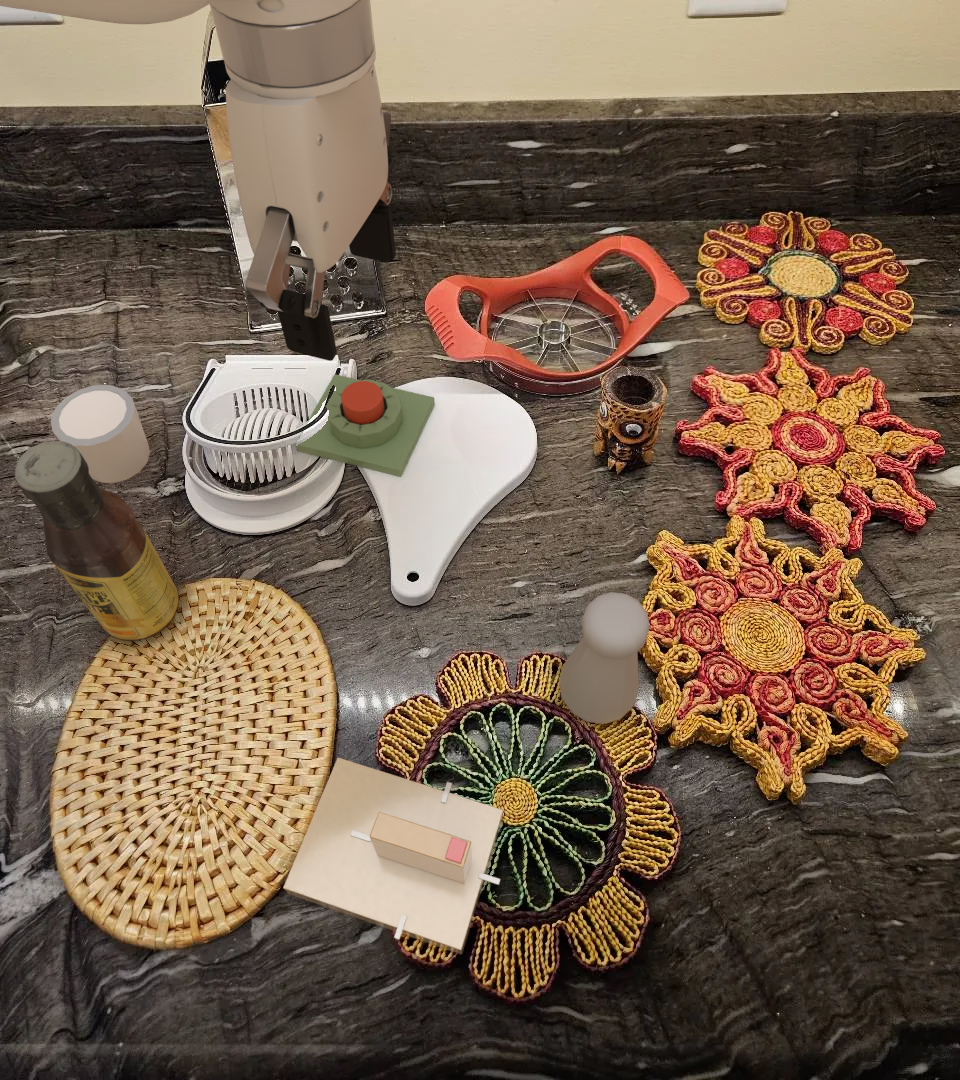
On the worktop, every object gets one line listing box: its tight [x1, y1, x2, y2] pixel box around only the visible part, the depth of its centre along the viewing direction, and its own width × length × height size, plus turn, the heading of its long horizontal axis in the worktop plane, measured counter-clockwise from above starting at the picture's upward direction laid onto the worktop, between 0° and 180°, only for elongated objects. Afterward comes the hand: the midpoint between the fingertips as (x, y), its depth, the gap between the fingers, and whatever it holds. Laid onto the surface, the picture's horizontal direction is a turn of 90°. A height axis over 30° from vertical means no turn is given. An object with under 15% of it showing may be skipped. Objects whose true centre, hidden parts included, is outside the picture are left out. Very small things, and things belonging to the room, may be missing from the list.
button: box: [341, 381, 384, 425], centre depth 76 cm, size 4×4×2 cm
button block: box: [295, 373, 436, 478], centre depth 78 cm, size 10×9×4 cm
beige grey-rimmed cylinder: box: [50, 384, 151, 484], centre depth 75 cm, size 7×7×7 cm
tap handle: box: [370, 812, 472, 884], centre depth 54 cm, size 6×2×5 cm, turn 73°
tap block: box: [283, 757, 504, 955], centre depth 57 cm, size 13×10×3 cm
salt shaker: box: [558, 591, 651, 725], centre depth 60 cm, size 6×6×13 cm
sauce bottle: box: [14, 440, 179, 642], centre depth 61 cm, size 7×6×20 cm
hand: (344, 302), depth 56 cm, fingers open, 9 cm apart
